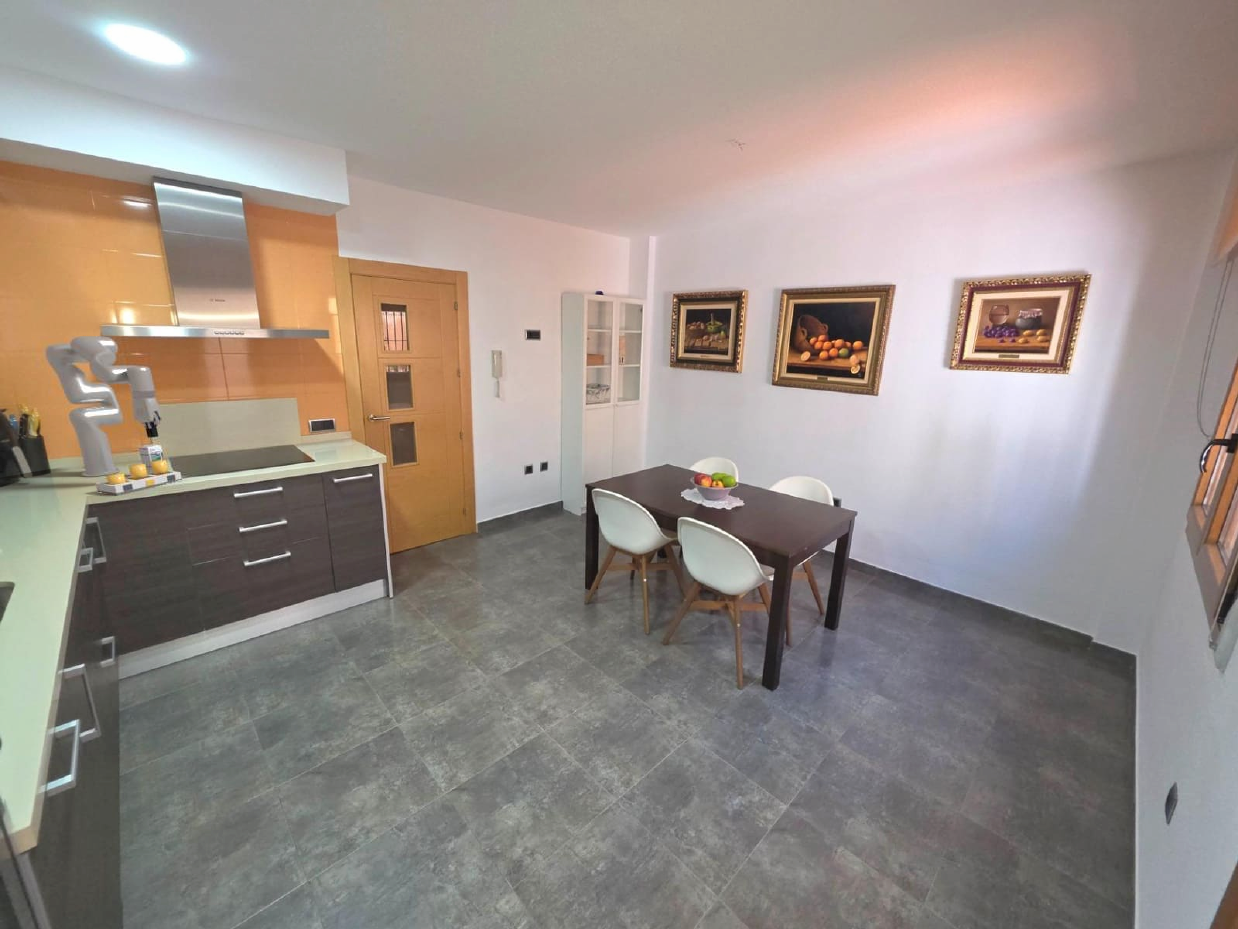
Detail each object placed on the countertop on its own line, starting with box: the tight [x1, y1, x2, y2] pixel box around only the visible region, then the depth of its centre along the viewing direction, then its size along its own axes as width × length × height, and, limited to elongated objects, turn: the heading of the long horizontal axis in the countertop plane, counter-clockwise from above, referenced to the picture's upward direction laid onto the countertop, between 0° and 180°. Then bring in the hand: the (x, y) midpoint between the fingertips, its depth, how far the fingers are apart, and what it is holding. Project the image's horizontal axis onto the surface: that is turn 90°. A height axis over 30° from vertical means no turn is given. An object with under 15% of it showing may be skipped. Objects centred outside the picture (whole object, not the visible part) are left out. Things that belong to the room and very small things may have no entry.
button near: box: [106, 472, 126, 485], centre depth 206 cm, size 5×5×6 cm
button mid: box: [128, 463, 148, 480], centre depth 213 cm, size 5×5×6 cm
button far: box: [150, 459, 169, 476], centre depth 221 cm, size 5×5×6 cm
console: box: [95, 470, 183, 497], centre depth 214 cm, size 12×24×4 cm, turn 164°
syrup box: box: [137, 444, 165, 473], centre depth 230 cm, size 6×6×14 cm
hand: (153, 436), depth 217 cm, fingers closed
